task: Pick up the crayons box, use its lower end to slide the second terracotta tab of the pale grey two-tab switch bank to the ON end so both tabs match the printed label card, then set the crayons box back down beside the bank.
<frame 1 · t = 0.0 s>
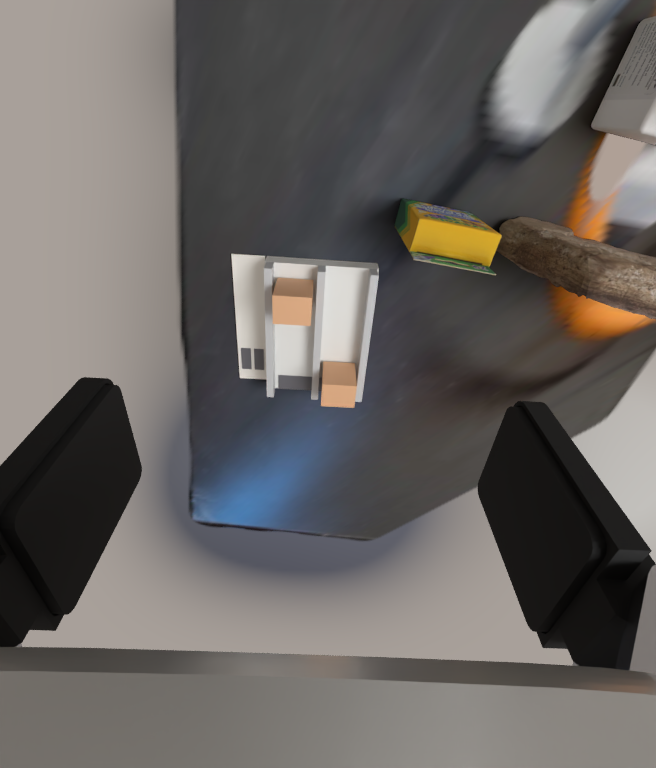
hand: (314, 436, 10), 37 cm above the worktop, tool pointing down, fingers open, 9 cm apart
tab a: (338, 384, 48), point 5 cm above the worktop, slide at 10.0 cm
crayon box: (431, 217, 42), on the worktop
container: (650, 87, 36), on the worktop
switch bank: (318, 326, 49), on the worktop
mineral sample: (565, 246, 44), on the worktop
tab b: (293, 301, 42), point 5 cm above the worktop, slide at 0.0 cm
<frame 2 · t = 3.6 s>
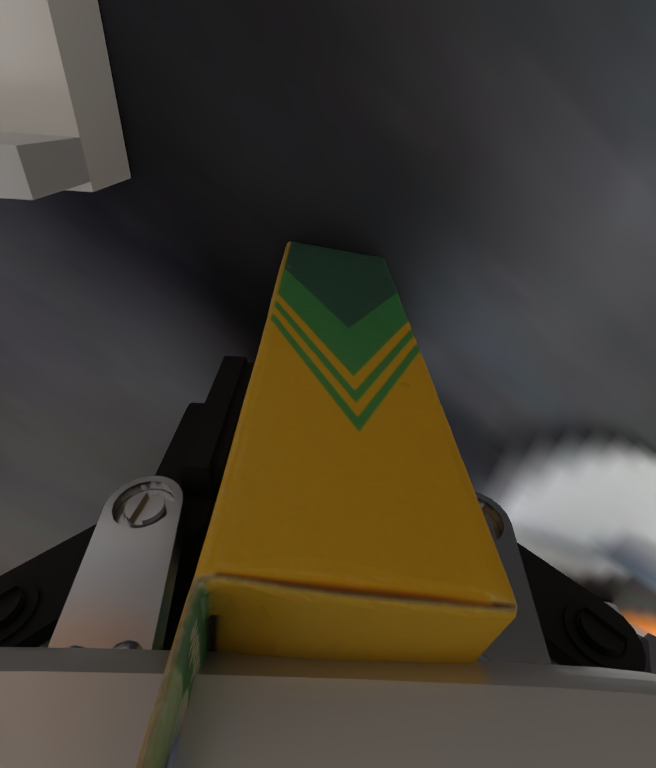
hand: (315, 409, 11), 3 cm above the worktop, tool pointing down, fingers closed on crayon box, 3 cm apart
crayon box: (319, 355, 13), on the worktop, touching gripper
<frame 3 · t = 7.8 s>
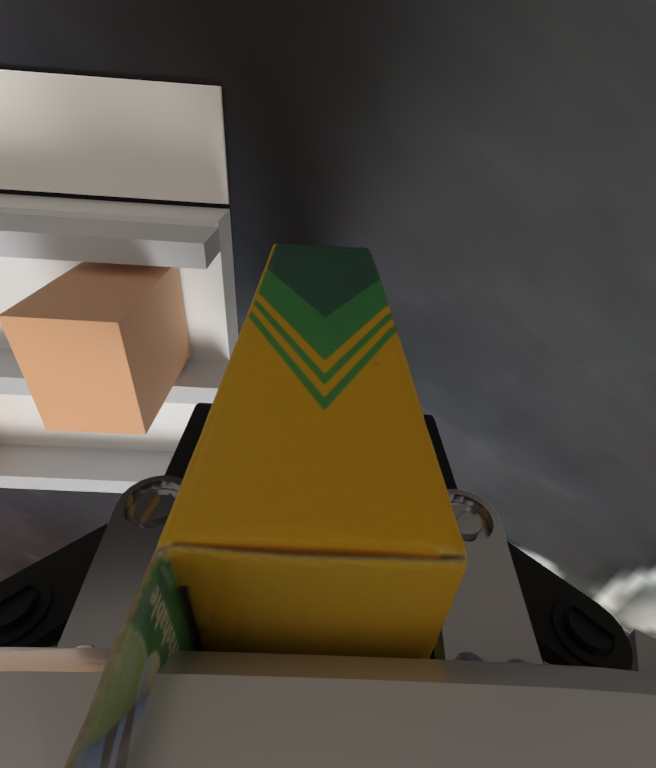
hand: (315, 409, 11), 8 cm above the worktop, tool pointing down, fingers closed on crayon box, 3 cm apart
crayon box: (319, 352, 14), point 5 cm above the worktop, touching gripper
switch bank: (63, 336, 19), on the worktop
tab b: (116, 339, 14), point 5 cm above the worktop, slide at 0.0 cm
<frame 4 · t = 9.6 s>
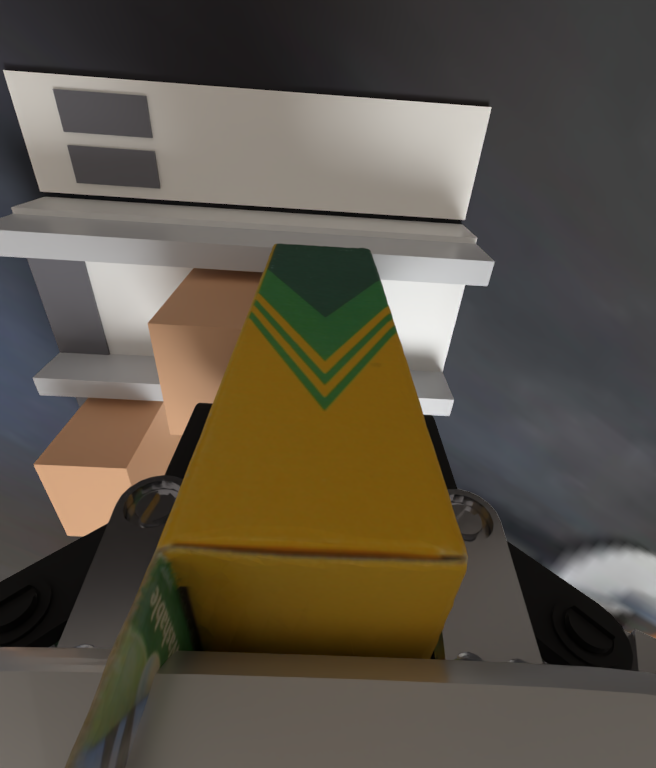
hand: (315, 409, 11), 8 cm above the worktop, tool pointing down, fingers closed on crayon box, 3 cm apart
tab a: (123, 455, 17), point 5 cm above the worktop, slide at 10.0 cm
crayon box: (319, 352, 14), point 5 cm above the worktop, touching gripper, tab b
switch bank: (261, 346, 19), on the worktop
tab b: (230, 345, 14), point 5 cm above the worktop, slide at 5.3 cm, touching crayon box
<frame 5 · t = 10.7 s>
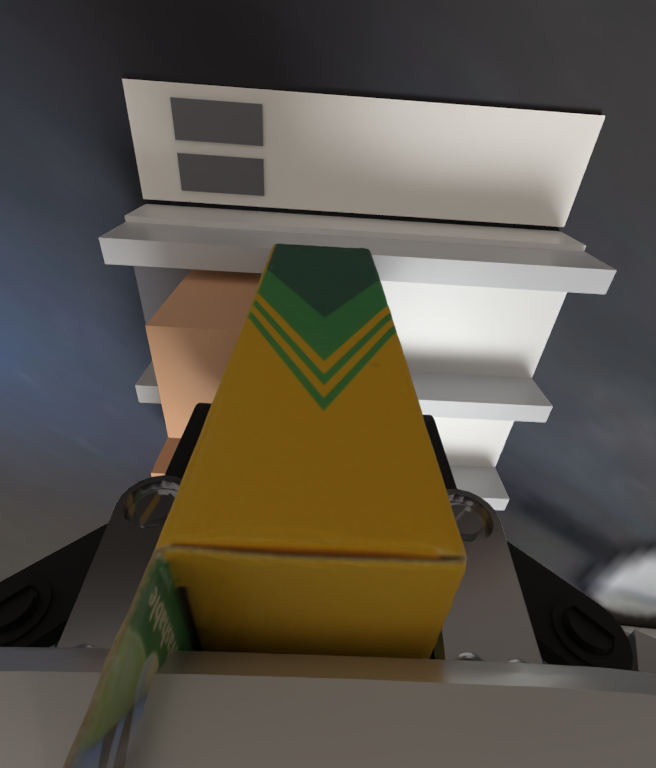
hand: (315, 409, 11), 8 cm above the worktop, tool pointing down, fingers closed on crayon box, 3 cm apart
tab a: (218, 462, 17), point 5 cm above the worktop, slide at 10.0 cm
crayon box: (319, 352, 14), point 5 cm above the worktop, touching gripper
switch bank: (343, 352, 19), on the worktop
tab b: (229, 347, 14), point 5 cm above the worktop, slide at 9.2 cm
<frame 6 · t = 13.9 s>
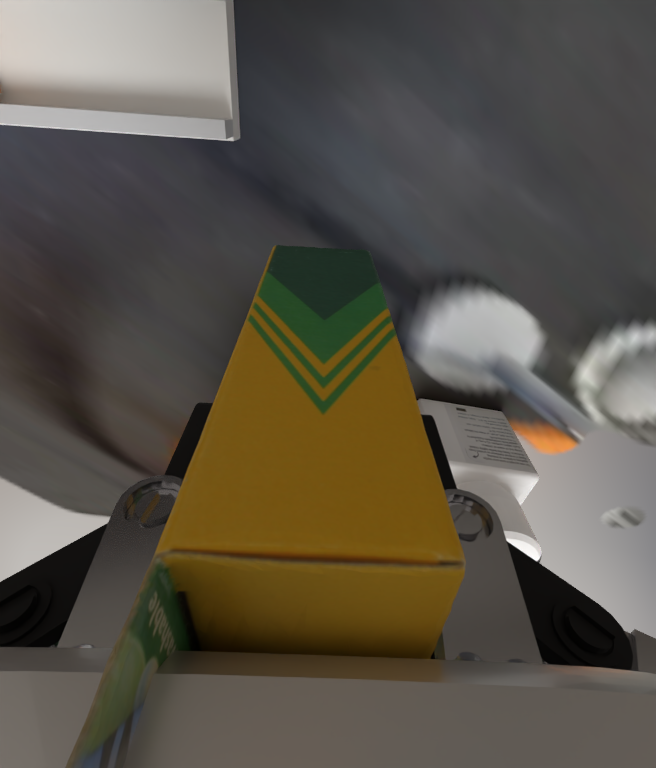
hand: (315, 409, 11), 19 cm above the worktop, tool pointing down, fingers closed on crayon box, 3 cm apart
crayon box: (319, 354, 14), point 16 cm above the worktop, touching gripper
container: (444, 435, 37), on the worktop
when the fingers open (4 cm above the worktop, at t = 16.8 s): crayon box drops 1 cm, on the worktop.
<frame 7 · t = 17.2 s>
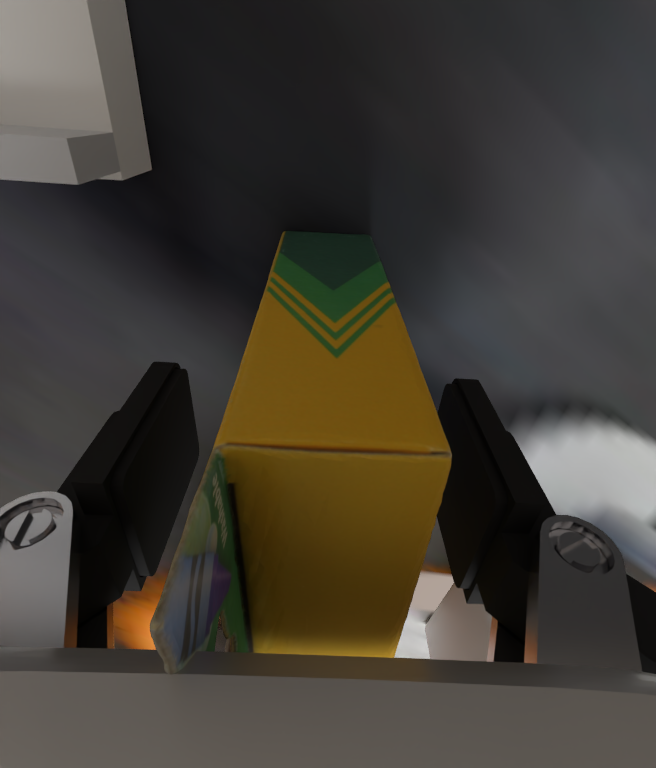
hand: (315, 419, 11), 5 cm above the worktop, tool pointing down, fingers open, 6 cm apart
crayon box: (324, 333, 15), on the worktop
container: (503, 596, 25), on the worktop
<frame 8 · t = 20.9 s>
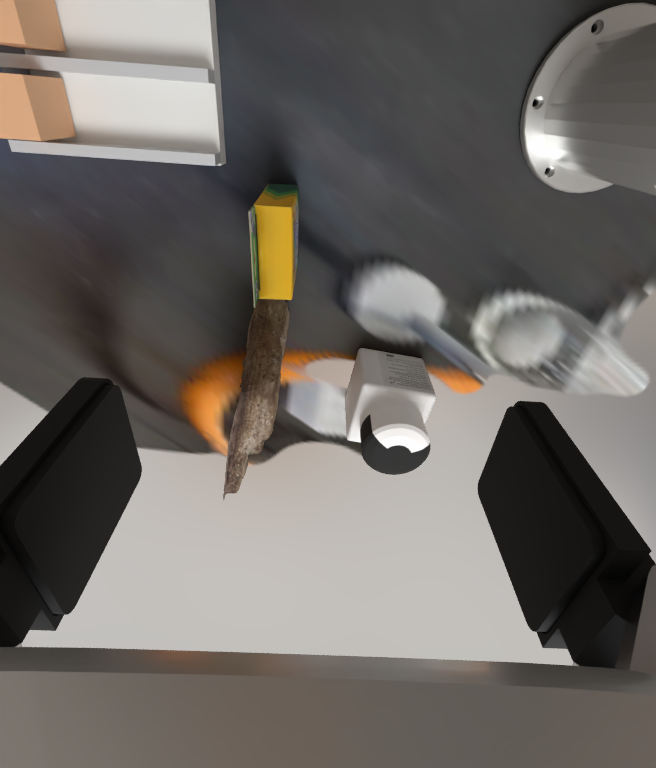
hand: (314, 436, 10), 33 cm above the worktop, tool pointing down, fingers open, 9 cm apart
tab a: (31, 107, 30), point 5 cm above the worktop, slide at 10.0 cm
crayon box: (284, 224, 39), on the worktop
container: (382, 378, 49), on the worktop
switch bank: (119, 70, 33), on the worktop
mineral sample: (265, 357, 48), on the worktop
tab b: (15, 9, 27), point 5 cm above the worktop, slide at 9.2 cm
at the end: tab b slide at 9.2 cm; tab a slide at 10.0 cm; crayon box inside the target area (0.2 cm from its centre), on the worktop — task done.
